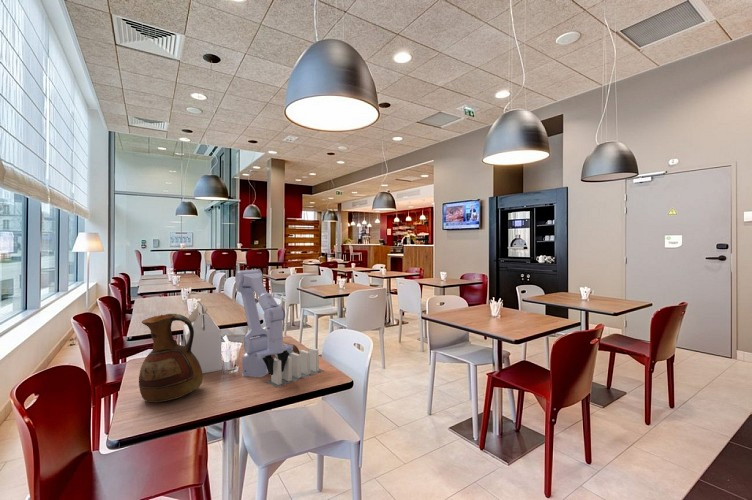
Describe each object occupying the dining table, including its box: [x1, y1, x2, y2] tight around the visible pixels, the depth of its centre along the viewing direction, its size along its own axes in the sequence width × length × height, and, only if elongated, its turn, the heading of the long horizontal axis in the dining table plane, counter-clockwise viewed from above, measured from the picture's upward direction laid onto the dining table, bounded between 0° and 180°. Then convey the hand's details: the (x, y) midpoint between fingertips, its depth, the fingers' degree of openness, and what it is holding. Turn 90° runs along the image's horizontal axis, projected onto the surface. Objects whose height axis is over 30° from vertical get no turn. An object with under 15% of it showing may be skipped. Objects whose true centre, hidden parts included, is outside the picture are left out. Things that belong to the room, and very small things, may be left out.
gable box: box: [182, 301, 223, 375], centre depth 163 cm, size 22×13×28 cm, turn 31°
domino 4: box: [299, 349, 310, 375], centre depth 150 cm, size 2×5×9 cm, turn 47°
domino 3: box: [290, 352, 301, 378], centre depth 147 cm, size 2×5×9 cm, turn 47°
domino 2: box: [281, 356, 292, 381], centre depth 143 cm, size 2×5×9 cm, turn 47°
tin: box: [273, 341, 300, 359], centre depth 167 cm, size 15×3×8 cm, turn 58°
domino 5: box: [307, 347, 320, 372], centre depth 153 cm, size 2×5×9 cm, turn 47°
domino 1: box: [270, 357, 282, 385], centre depth 140 cm, size 2×5×9 cm, turn 47°
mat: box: [265, 368, 325, 388], centre depth 147 cm, size 23×8×1 cm, turn 137°
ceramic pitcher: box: [138, 313, 204, 403], centre depth 131 cm, size 20×20×30 cm
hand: (276, 372), depth 140 cm, fingers open, 4 cm apart
